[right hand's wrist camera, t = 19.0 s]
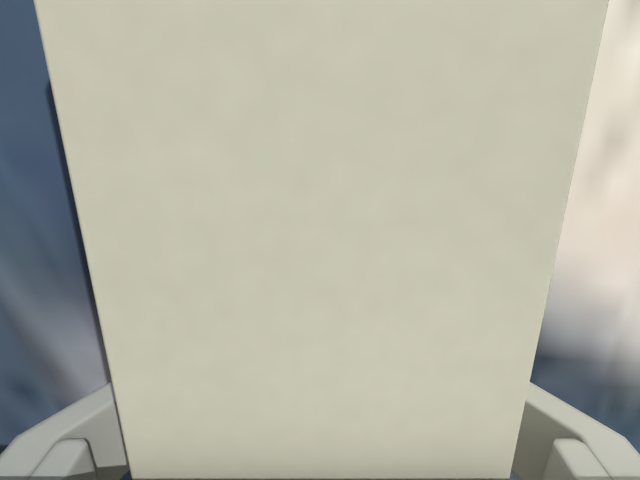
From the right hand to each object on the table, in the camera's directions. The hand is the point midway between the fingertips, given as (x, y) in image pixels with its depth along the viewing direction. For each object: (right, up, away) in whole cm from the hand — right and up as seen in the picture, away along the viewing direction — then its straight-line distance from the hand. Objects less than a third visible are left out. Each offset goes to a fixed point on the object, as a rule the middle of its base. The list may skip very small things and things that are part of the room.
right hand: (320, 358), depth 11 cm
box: (0, +8, +3) cm, 9 cm away
